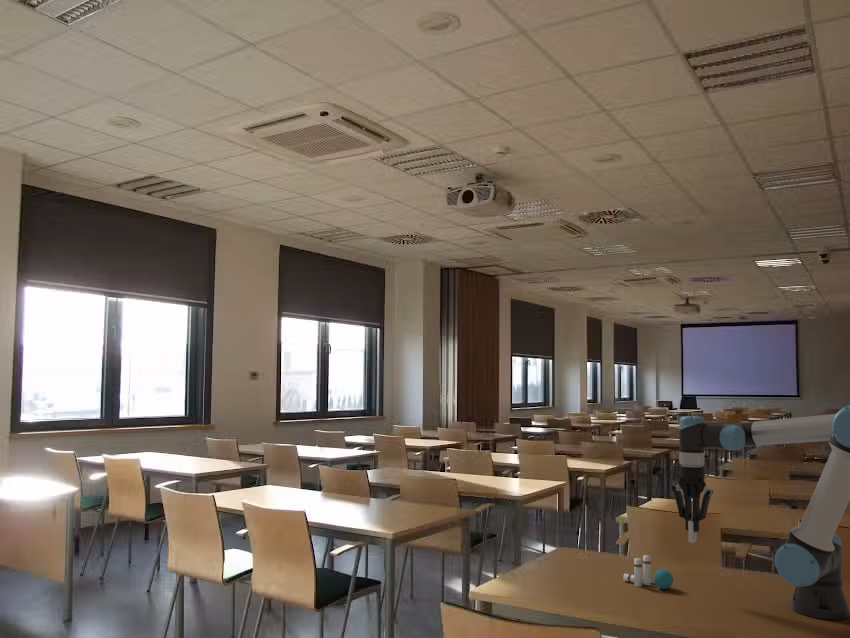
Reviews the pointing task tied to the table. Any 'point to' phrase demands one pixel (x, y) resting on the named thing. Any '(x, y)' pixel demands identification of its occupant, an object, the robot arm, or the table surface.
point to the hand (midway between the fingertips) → (692, 541)
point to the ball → (663, 579)
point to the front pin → (631, 579)
